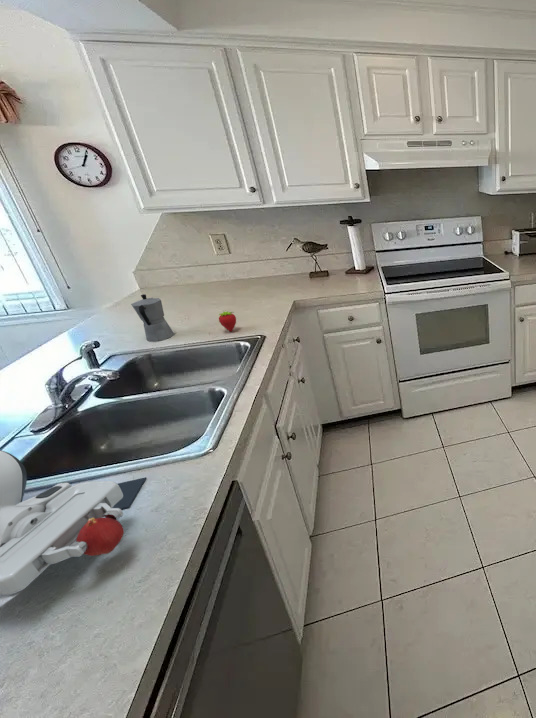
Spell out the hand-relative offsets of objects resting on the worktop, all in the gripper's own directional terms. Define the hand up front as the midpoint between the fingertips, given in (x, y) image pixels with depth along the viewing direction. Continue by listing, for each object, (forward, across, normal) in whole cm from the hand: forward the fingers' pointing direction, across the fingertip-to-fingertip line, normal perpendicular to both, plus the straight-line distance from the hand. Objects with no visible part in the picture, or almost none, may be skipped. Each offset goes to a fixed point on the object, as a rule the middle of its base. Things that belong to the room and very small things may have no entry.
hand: (102, 530), depth 70 cm
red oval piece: (-1, 0, +5) cm, 5 cm away
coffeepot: (-68, +100, +8) cm, 121 cm away
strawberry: (-42, +105, +8) cm, 113 cm away
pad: (-15, +15, +8) cm, 23 cm away
